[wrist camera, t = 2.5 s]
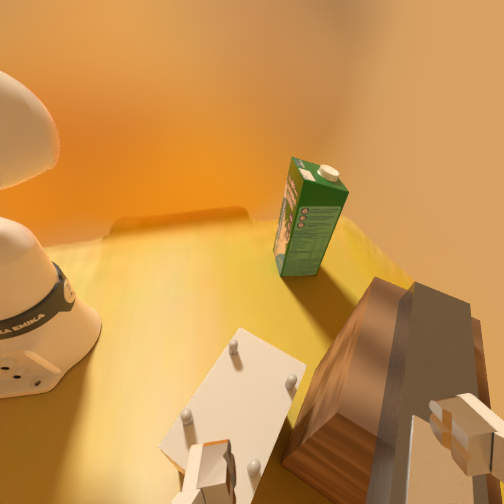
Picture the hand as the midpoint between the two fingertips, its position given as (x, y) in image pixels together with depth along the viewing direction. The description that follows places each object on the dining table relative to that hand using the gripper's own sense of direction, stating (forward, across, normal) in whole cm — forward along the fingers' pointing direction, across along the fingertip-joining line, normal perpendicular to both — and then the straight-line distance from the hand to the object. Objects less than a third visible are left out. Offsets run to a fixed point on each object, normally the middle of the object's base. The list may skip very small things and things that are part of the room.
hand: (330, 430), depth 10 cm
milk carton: (+53, -8, +10) cm, 54 cm away
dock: (+22, +9, +24) cm, 34 cm away
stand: (+22, -5, +27) cm, 36 cm away
